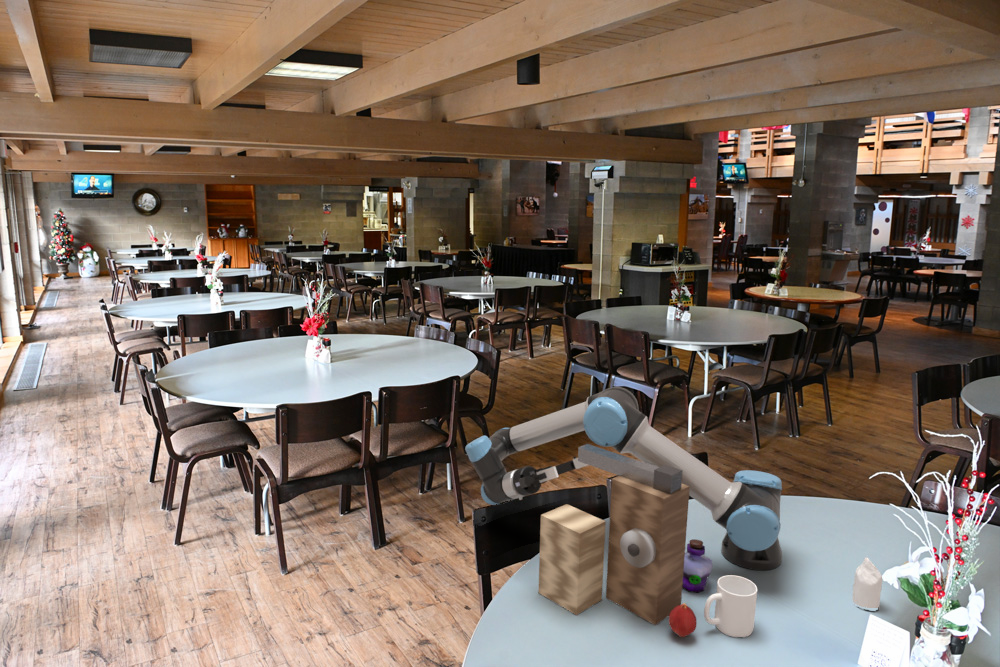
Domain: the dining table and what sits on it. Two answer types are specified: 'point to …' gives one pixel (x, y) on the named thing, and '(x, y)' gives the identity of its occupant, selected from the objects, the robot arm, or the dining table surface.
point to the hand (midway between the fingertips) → (574, 464)
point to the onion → (682, 620)
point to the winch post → (646, 548)
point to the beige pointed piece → (867, 585)
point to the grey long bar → (632, 469)
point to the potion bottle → (696, 567)
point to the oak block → (571, 558)
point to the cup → (733, 606)
